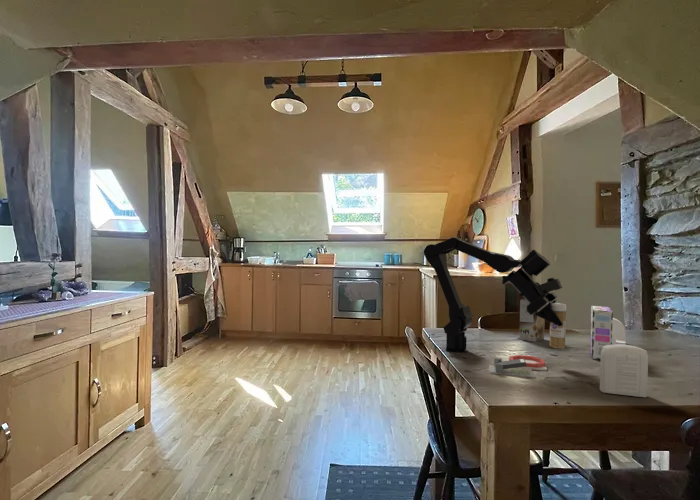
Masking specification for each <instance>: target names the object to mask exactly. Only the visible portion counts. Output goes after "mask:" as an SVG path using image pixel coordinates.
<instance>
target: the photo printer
mask: <svg viewBox="0 0 700 500" xmlns="http://www.w3.org/2000/svg"><path fill="white" fill-rule="evenodd" d="M599 367H600V370H599V391H600V392H602V393H604V394H611V395H612V394H614V395H620V396H621V395H622V396H632V397H638V398H647V397H648V378H649V354H648V352H647V350H646V349H643V348H641V347H639V346H634V345H631V344H630V345H629V344H626V345H624V344H614V345H607V346H603V347H602V350H601V360H600V364H599Z"/></svg>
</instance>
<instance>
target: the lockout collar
mask: <svg viewBox="0 0 700 500" xmlns="http://www.w3.org/2000/svg"><path fill="white" fill-rule="evenodd" d="M507 359H508V360H507V361H510V360H517V359H524V360H525V362H526V367H518V368H526V369H532V371H533V370H535V371H548V368H547V366H546V361H545V360H544V359H543V358H540V357H537V356H532V355H523V354H516V355H509V356H508V357H507Z"/></svg>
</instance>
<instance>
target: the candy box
mask: <svg viewBox="0 0 700 500" xmlns="http://www.w3.org/2000/svg"><path fill="white" fill-rule="evenodd" d="M613 316H614V314H613V310H612V309H611V308H610V306H600V305H591V307H590V355H591V359H593V360H598V361H599V360H600V361H601V350H602V347H603V346H607V345H612V321H613V318H614V317H613Z"/></svg>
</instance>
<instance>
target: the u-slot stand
mask: <svg viewBox="0 0 700 500" xmlns="http://www.w3.org/2000/svg"><path fill="white" fill-rule="evenodd" d="M614 344H624V345H627V342H626V327H625V326H624V324H623V323H622V321H620V320H619V319H617V318H615V317H613V321H612V345H614Z"/></svg>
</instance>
